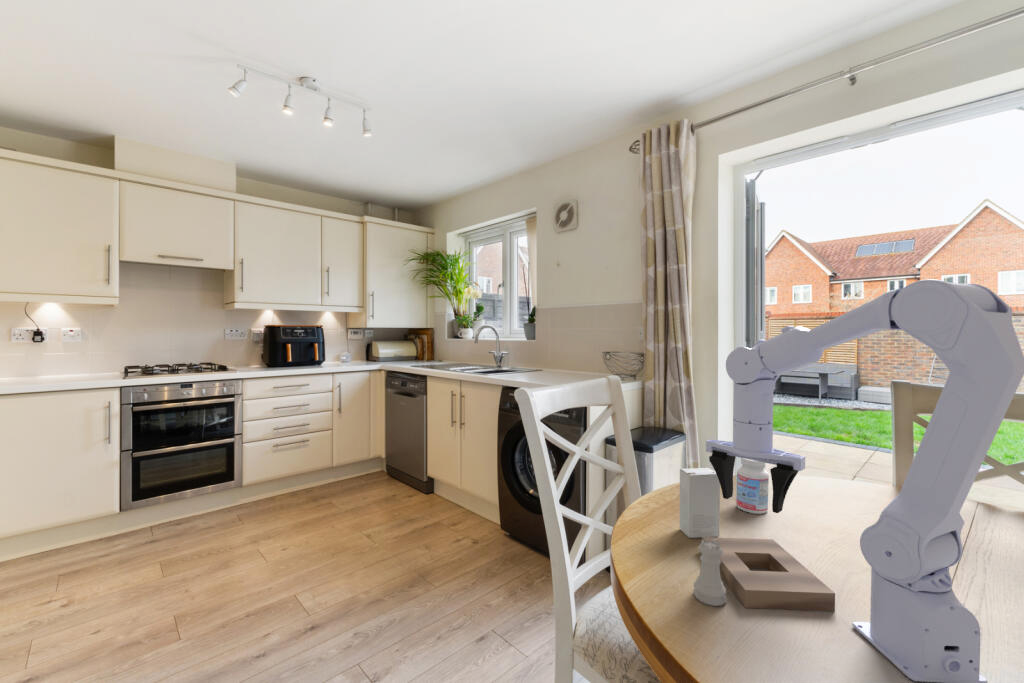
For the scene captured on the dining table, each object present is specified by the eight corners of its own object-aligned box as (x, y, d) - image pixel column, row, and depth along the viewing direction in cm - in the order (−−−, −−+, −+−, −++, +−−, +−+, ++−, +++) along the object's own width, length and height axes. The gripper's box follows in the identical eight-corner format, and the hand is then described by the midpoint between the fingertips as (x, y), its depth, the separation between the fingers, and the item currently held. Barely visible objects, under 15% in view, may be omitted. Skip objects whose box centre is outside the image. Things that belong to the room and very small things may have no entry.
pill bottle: (730, 506, 98) (730, 455, 97) (748, 502, 100) (749, 453, 100) (755, 516, 92) (756, 463, 92) (774, 512, 95) (775, 460, 94)
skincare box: (707, 528, 87) (708, 466, 86) (720, 538, 82) (721, 473, 82) (677, 529, 86) (678, 467, 86) (689, 539, 82) (690, 474, 81)
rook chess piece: (731, 609, 61) (731, 552, 61) (696, 605, 62) (697, 548, 62) (722, 591, 65) (723, 537, 65) (690, 587, 66) (691, 534, 66)
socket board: (834, 611, 61) (835, 593, 60) (744, 607, 61) (745, 589, 61) (772, 553, 76) (772, 539, 76) (701, 551, 77) (702, 537, 77)
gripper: (812, 425, 69) (810, 511, 69) (719, 412, 80) (718, 486, 80) (796, 431, 65) (795, 523, 65) (700, 416, 76) (699, 495, 76)
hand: (751, 503), depth 72 cm, fingers open, 7 cm apart
